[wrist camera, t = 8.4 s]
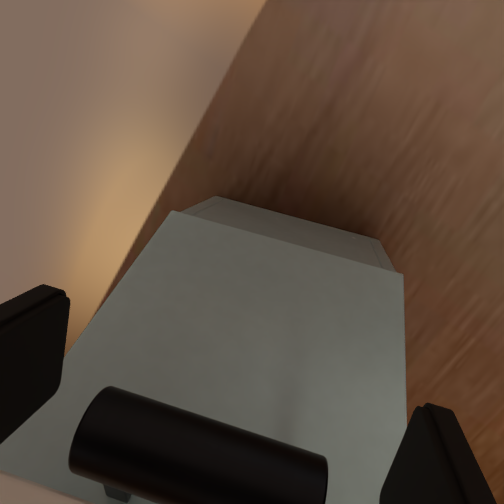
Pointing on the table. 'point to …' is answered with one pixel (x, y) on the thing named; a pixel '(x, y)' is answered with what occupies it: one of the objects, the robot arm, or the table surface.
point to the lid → (227, 379)
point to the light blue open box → (293, 230)
